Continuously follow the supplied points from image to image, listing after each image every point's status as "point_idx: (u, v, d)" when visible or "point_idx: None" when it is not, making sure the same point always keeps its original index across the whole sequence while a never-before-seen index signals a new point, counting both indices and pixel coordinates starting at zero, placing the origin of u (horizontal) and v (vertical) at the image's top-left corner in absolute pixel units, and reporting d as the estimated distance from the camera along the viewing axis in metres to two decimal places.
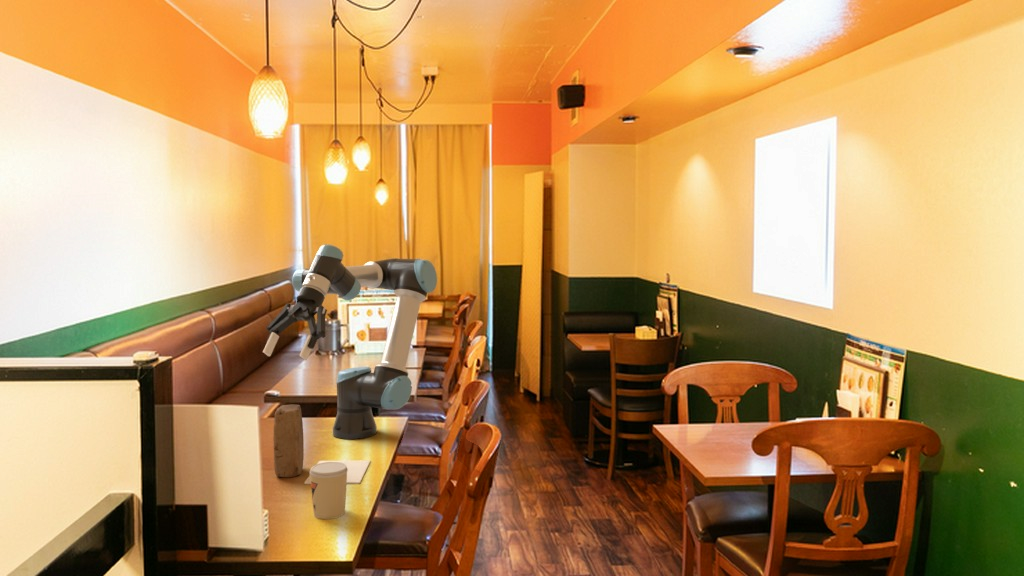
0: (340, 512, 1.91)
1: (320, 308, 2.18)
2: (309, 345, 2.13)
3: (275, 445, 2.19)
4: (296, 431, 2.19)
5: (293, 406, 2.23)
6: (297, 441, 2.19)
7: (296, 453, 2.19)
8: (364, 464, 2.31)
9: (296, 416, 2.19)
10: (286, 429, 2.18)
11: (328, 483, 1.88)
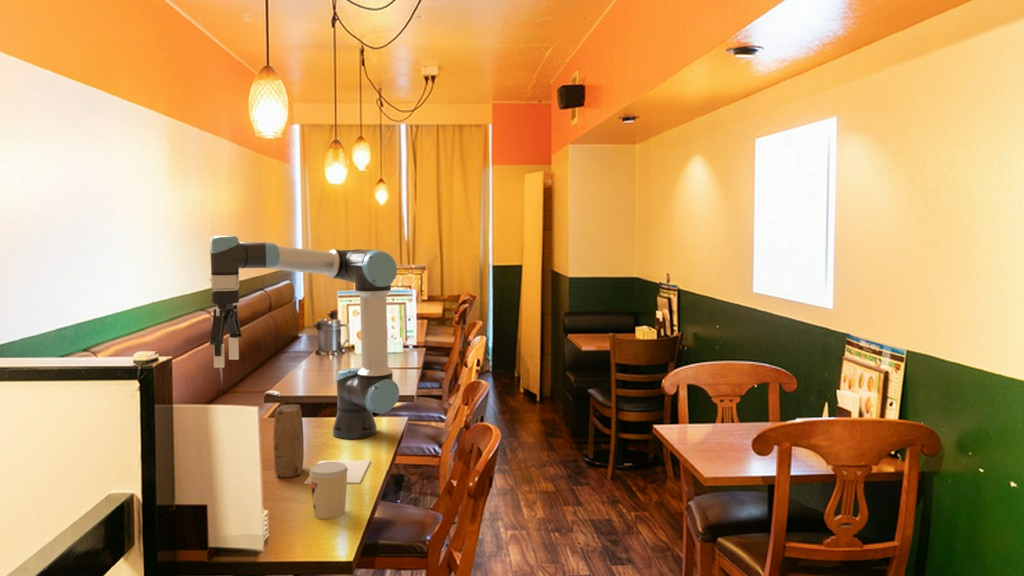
0: (340, 512, 1.91)
1: None
2: None
3: (275, 445, 2.19)
4: (296, 431, 2.19)
5: (293, 406, 2.23)
6: (297, 441, 2.19)
7: (296, 453, 2.19)
8: (364, 464, 2.31)
9: (296, 416, 2.19)
10: (286, 428, 2.18)
11: (328, 483, 1.88)
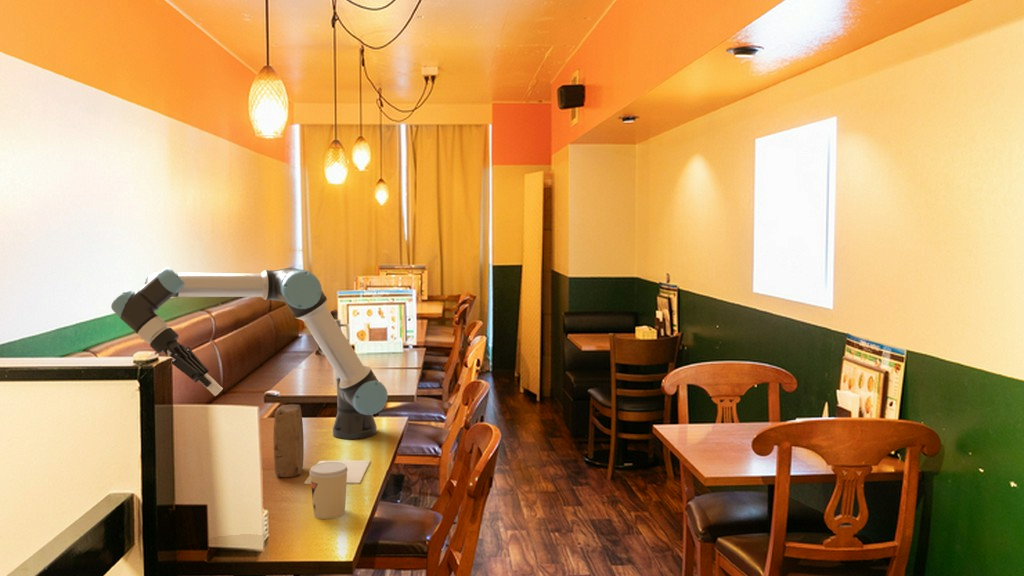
0: (340, 512, 1.91)
1: None
2: None
3: (275, 445, 2.19)
4: (296, 431, 2.19)
5: (293, 406, 2.23)
6: (297, 441, 2.19)
7: (296, 453, 2.19)
8: (364, 464, 2.31)
9: (296, 416, 2.19)
10: (286, 428, 2.18)
11: (328, 483, 1.88)
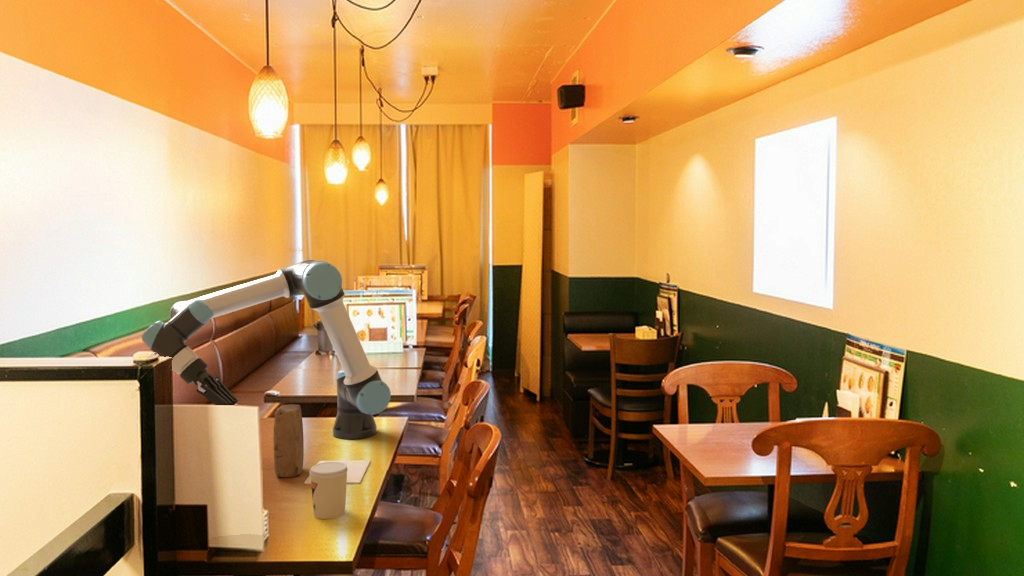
0: (340, 512, 1.91)
1: None
2: None
3: (275, 445, 2.19)
4: (296, 431, 2.19)
5: (293, 406, 2.23)
6: (297, 441, 2.19)
7: (296, 453, 2.19)
8: (364, 464, 2.31)
9: (296, 416, 2.19)
10: (286, 428, 2.18)
11: (328, 483, 1.88)
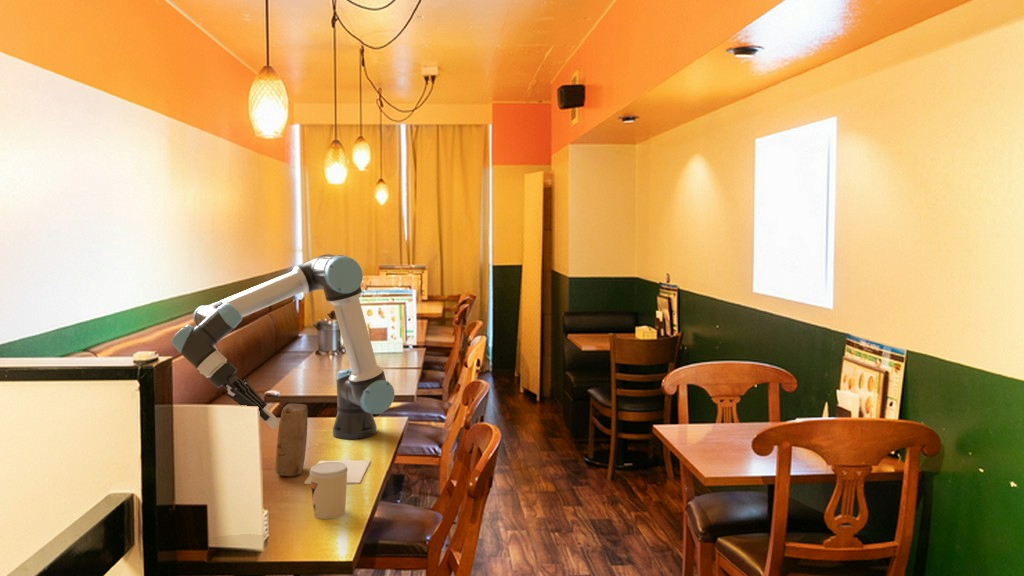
0: (340, 512, 1.91)
1: None
2: None
3: (279, 443, 2.19)
4: (301, 431, 2.19)
5: (300, 406, 2.24)
6: (301, 441, 2.19)
7: (298, 453, 2.19)
8: (364, 464, 2.31)
9: (302, 416, 2.19)
10: (291, 428, 2.18)
11: (328, 483, 1.88)
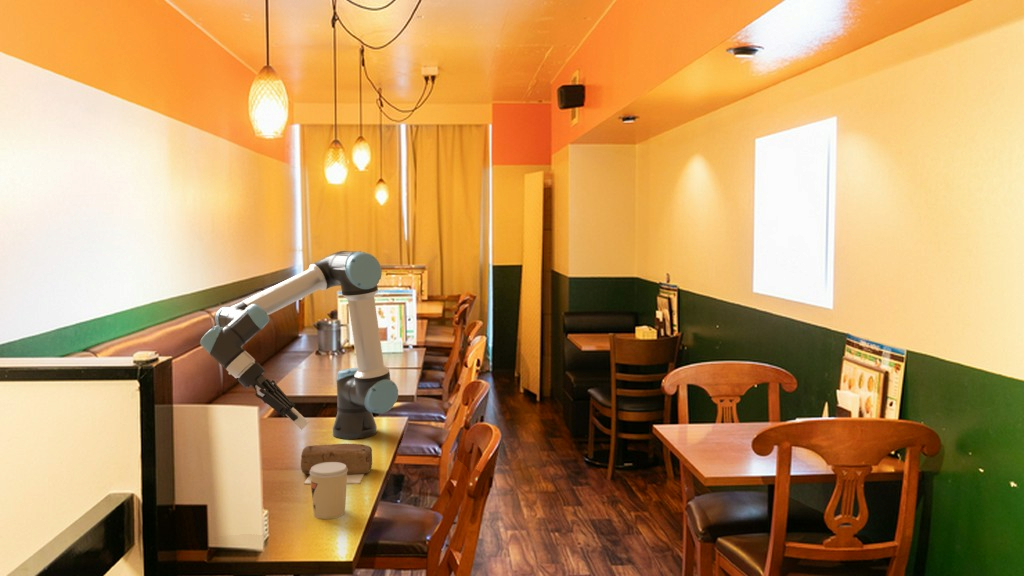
0: (340, 512, 1.91)
1: None
2: None
3: (334, 453, 2.20)
4: (348, 473, 2.21)
5: (371, 462, 2.27)
6: None
7: None
8: None
9: (363, 472, 2.22)
10: (351, 464, 2.21)
11: (328, 483, 1.88)
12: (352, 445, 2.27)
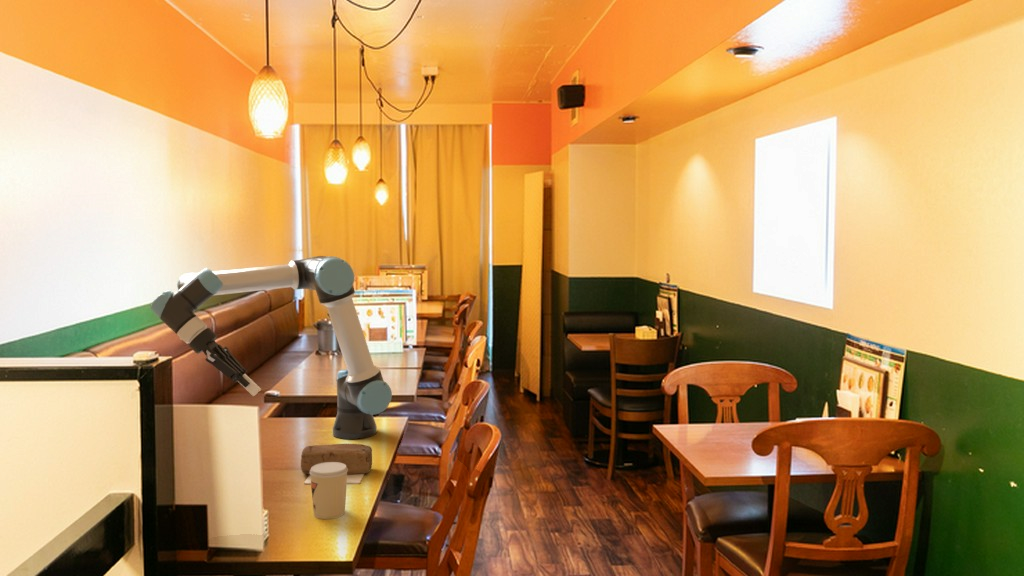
0: (340, 512, 1.91)
1: None
2: None
3: (334, 453, 2.20)
4: (348, 473, 2.21)
5: (371, 462, 2.27)
6: None
7: None
8: None
9: (363, 472, 2.22)
10: (351, 464, 2.21)
11: (328, 483, 1.88)
12: (352, 445, 2.27)
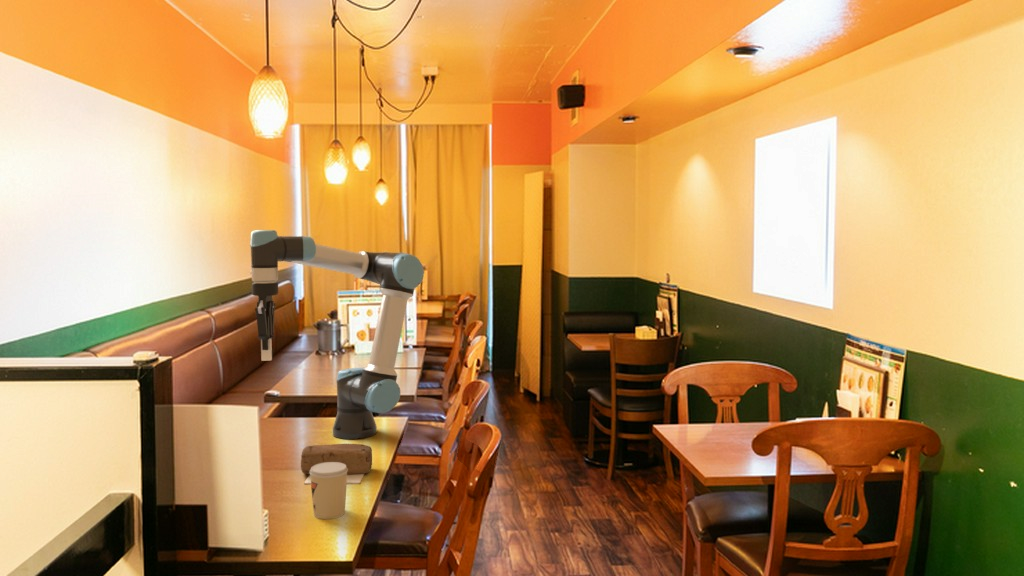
0: (340, 512, 1.91)
1: None
2: None
3: (334, 453, 2.20)
4: (348, 473, 2.21)
5: (371, 462, 2.27)
6: None
7: None
8: None
9: (363, 472, 2.22)
10: (351, 464, 2.21)
11: (328, 483, 1.88)
12: (352, 445, 2.27)
